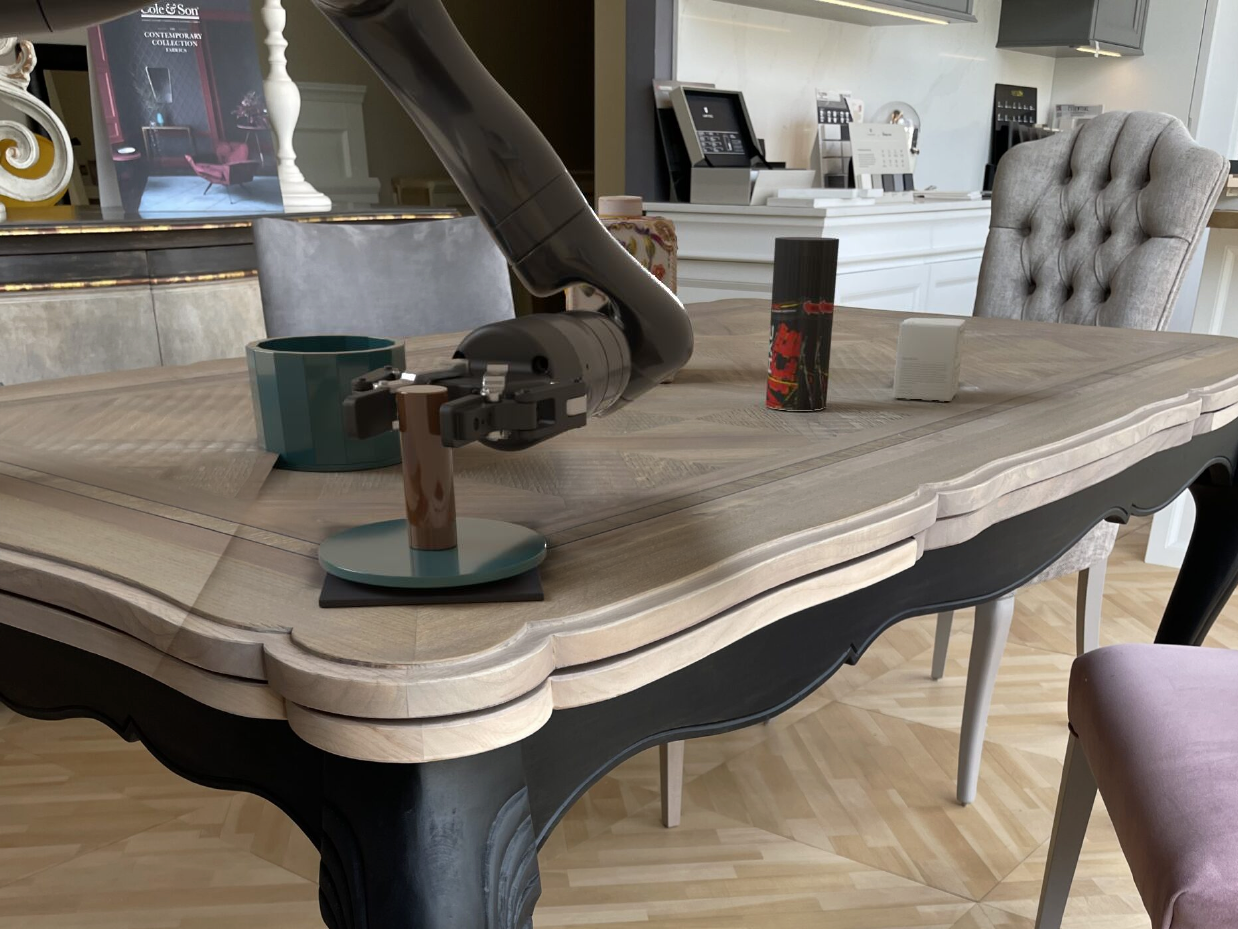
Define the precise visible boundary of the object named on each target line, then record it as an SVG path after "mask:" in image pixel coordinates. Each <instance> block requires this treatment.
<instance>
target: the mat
mask: <svg viewBox="0 0 1238 929" xmlns="http://www.w3.org/2000/svg"><path fill="white" fill-rule="evenodd" d="M538 566H539V565H537V566H536V567H534V568H532V569H530V570H528V571H526V572H523V573H521V574H518V575H515V576H511V577H508V578H504V579H500V580H495V581H490V582H485V583H479V584H471V585H464V586H456V587H445V588H405V587H388V586H379V585H371V584H365V583H359V582H355V581H350V580H347V579H343V578H340V577H338V576H335V575H333V574H331V573H329V572H327V571H326V574H325V577H324V581H323V584H322V587H321V591H320V594H319V598H318V607H319V608H336V607H337V608H339V607H368V606H369V607H371V606H372V607H373V606H399V605H400V606H401V605H403V606H404V605H431V604H432V605H433V604H435V605H436V604H463V603H467V604H468V603H495V602H498V603H499V602H525V601H527V602H529V601H544V600H545V593H544V588H543V584H542V580H541V575H540V570H539V567H538Z"/></svg>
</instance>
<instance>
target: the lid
mask: <svg viewBox="0 0 1238 929" xmlns="http://www.w3.org/2000/svg"><path fill="white" fill-rule="evenodd" d="M396 396H397V408H398V420H399V433H400V445H401V458H402V462H401V468H402V481H403V495H404V505H405V518H399V519H390V520H384V521H377V522H376V521H375V522H370V523H368V524H363V525H357V526H354V527H351V528H348V529H345V530H342V531H339V532H336V533H335V534H332V535H330V536H329V537H327V538H326V539H324V540H322V542H321V543H320V544H319V546H318V548H317V558H318V563H319V565H320V566H321V568H322V570H324V571H326V573H327V572H329V573H331V574H333V575H335V576H338V577H340V578H343V579H347V580H350V581H355V582H359V583H365V584H371V585H379V586H388V587H405V588H445V587H456V586H464V585H471V584H479V583H485V582H490V581H495V580H500V579H504V578H508V577H511V576H515V575H518V574H521V573H523V572H526V571H528V570H530V569H532V568H534V567H536V566H539V565H540V564H541V563H542V562H543V561H544V560H545V559H546V557H547V541H546V539H545V537H544V536H543V535H541V534H540V533H539V532H537V531H536V530H534V529H532V528H528V527H526V526H523V525H519V524H516V523H512V522H508V521H503V520H496V519H491V518H481V517H480V518H479V517H468V516H457V510H456V494H455V478H454V476H455V474H454V462H453V459H454V458H453V448H449V447H444V446H443V445H442V442H441V430H440V407H441V405H442V404H444V403H447V402H449V394H448V389H447V388H446V387H442V386H435V385H413V386H405V387H400V388H398V389H397V390H396Z"/></svg>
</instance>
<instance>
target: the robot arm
mask: <svg viewBox="0 0 1238 929" xmlns="http://www.w3.org/2000/svg"><path fill="white" fill-rule="evenodd" d="M163 1H164V0H0V40H2V39H10V38H11V39H12V38H21V37H33V36H42V35H53V34H63V33H69V32H75V31H80V30H84V29H89V28H93V27H97V26H101V25H104V24H107V23H110V22H113V21H116V20H119V19H122V18H124V17H127V16H130V15H132V14H135V13H137V12H140V11H142V10H144V9H147V8H149V7H151V6H153V5H156V4H159V3H161V2H163ZM310 2H312V4H313V5H314V6H315V7H316V8H317V10H319V11H320V12H321V14H322V15H323V16H325V18H326V19H327V20H328V21H329V22H330V23H331V25H332V26H334V28H335V29H336V30H337V31H338V32H339V33H340V34H341V35H342V36H343V37H344V39H346V41H348V42H349V44H350V45H351V46H352V48H354V50H355V51H357V53H358V54H359V55H360V56H361V58H362V59H364V61H365V62H366V63H367V64H368V65H369V66H370V68H371V69H372V71H374V72H375V74H376V75H377V76H378V77H379V79H380V80H381V81H382V82H383V84H384V85H385V86H386V87H387V89H388V90H389V91H390V92H391V93H392V95H393V96H394V97H395V99H396V100H397V101H398V103H399V104H400V106H402V108H403V109H404V110H405V111H406V113H407V114H408V116H409V117H410V118H411V120H412V121H413V122H414V124H415V126H417V128H418V129H419V131H420V132H421V134H423V136H424V139H425V140H426V141H427V142H428V144H429V146H430V147H431V148H432V150H433V151H434V153H435V154H436V156H437V157H438V159H439V160H440V162H441V164H442V165H443V167H444V168H445V169H446V170H447V173H448V174H449V175H450V177H451V179H452V180H453V181H454V183H455V185H456V186H457V188H458V189H459V191H460V192H461V194H462V195H463V197H464V198H465V200H466V202H467V203H468V205H469V206H470V207H471V209H472V210H473V212H474V214H475V215H476V216H477V219H478V220H479V221H480V223H481V224H482V225H483V228H485V230H486V232H487V233H488V235H489V236H490V237H491V240H492V241H493V243H494V244H495V245H496V246H497V248H498V250H499V251H500V253H501V254H502V256H503V257H504V258H505V260H506V262H507V263H508V265H509V266H511V269H512V270H513V272H514V273H515V275H516V276H517V278H518V279H519V281H520V282H521V283H522V285H523V286H524V288H526V290H528V292H529V293H530V294H531V295H533V296H535V297H538V298H547V297H549V296H553V295H555V294H558V293H560V292H563V291H565V289H567V288H569V287H572V286H575V285H579V284H585V285H589V286H591V287H593V288H595V289H597V290H598V291H600V292H602V293H603V294H605V295H606V296H607V297H608V298H609V299H608V300H606V301H605V302H603V303H602V304H601V305H599V306H598V307H597V308H595V309H594V310H587V309H575V310H568V311H566V310H564V311H560V312H555V313H548V312H543V313H542V312H539V313H531V314H526V315H523V316H518V317H513V318H509V319H504V320H500V321H496V322H491V323H487V324H484V325H481V326H479V327H477V328H475V329H474V330H472V331H471V332H469V333H467V335H465V337H464V338H463V339H462V340H461V341H460V342H459V344H458V345H457V347H456V349H455V351H454V353H453V355H452V357H451V359H443V360H441V361H440V362H439V363H438V365H433V366H425V367H424V366H423V367H416V368H410V369H409V368H407V370H405V371H404V372H403V373H402V376H401V377H400V372H399V371H398V368H392V366H384V368H379V369H376V370H374V371H372V372H370V373H367V374H365V375H363V376H360V377H358V378H356V379H354V380H351V383H352V389H353V390H352V393H353V395H351V396H348V397H346V398H345V401H344V402H343V403H342V412H343V422H344V430H346V433H347V436H348V437H349V438H350V439H358V440H364V439H367V438H369V437H372V436H375V435H378V434H381V433H384V432H391V431H392V430H395V429H399V420H398V416H397V414H398V408H397V396H396V390H397V389H398V388H400V387H405V386H413V385H435V386H442V387H446V388H447V389H448V394H449V402H447V403H444V404H442V405H441V407H440V430H441V442H442V445H443V446H444V447H449V448H452V449H459V448H461V447H463V446H467V445H469V444H471V443H474V442H476V441H477V442H478V443H480V444H482V445H484V446H486V447H487V448H490V449H492V450H495V451H499V452H507V453H515V452H520V451H525V450H528V449H530V448H532V447H534V446H536V445H539V444H541V443H544V442H545V441H548V440H550V439H553V438H555V437H557V436H559V435H562V434H564V433H566V432H569V431H571V430H575V429H581V428H582V427H586V426H587V425H588V423H587V422H588V419H589V418H590V419H594V420H601V419H605V418H607V417H610V416H612V415H614V414H615V413H618V412H619V411H621V410H622V409H624V408H626V407H627V406H629V405H631V403H633V402H635V400H638V399H639V398H640V397H642V396H644V395H645V394H647V393H648V392H649V391H651V390H652V389H654V388H655V387H657V386H658V385H660V384H661V383H664V382H663V381H664V380H666V379H667V378H669V377H671V376H672V375H674V376H675V375H676V374H677V373H678V372H679V371H681V370H682V369H683V368H684V367H685V366H686V365H688V363H689V362H690V360H691V358H692V356H693V353H694V347H695V337H694V328H693V325H692V322H691V319H690V316H689V314H688V312H687V310H686V308H685V307H684V305H683V304H682V302H681V301H680V299H679V298H678V297H676V296H675V295H674V294H673V293H672V292H671V291H670V290H669V289H668V288H667V287H666V286H665V285H664V284H662V283H661V282H660V281H659V280H658V279H657V278H656V277H655V276H653V275H652V274H651V273H650V272H649V271H648V270H647V269H645V268H644V267H643V266H642V265H641V264H640V263H639V262H638V261H637V260H636V259H635V258H634V257H633V256H632V255H631V254H630V253H629V252H628V251H627V250H626V249H625V248H624V247H623V246H622V245H621V244H620V243H619V242H618V241H617V240H616V239H615V238H614V237H613V236H612V235H611V234H610V232H609V231H608V230H607V229H606V228H605V227H604V225H603V224H602V223H601V222H600V220H599V219H598V218H597V216H598V215H596V213H595V212H594V210H593V209H592V207H591V206H590V205H589V202H588V201H587V199H586V198H585V196H584V195H583V193H582V191H581V190H580V188H579V186H578V185H577V183H576V182H575V180H574V178H573V177H572V176H571V174H570V173H569V171H568V169H567V168H566V166H565V165H564V163H563V161H562V159H561V158H560V157H559V155H558V154H557V152H556V151H555V149H554V148H553V146H552V145H551V143H550V142H549V141H548V140H547V138H546V137H545V135H544V134H543V133H542V131H541V130H540V129H539V128H538V127H537V125H536V124H535V123H534V122H533V120H532V119H531V118H530V117H529V116H528V114H526V112H525V111H524V110H523V109H522V108H521V106H519V104H518V103H517V102H516V101H515V100H514V99H513V98H512V97H511V96H510V94H508V92H507V91H506V90H505V89H504V88H503V87H502V86H501V85H500V83H498V81H496V79H495V78H494V77H493V76H492V75H491V74H490V72H489V71H488V70H487V69H486V68H485V66H484V65H483V64H482V63H481V61H480V60H479V59H478V57H477V55H476V54H475V53H474V52H473V50H472V49H471V48H470V46H469V45H468V43H467V42H466V41H465V39H464V38H463V36H462V34H461V33H460V32H459V30H458V28H457V26H456V25H455V24H454V22H453V20H452V18H451V17H450V15H449V13H448V12H447V9H446V8H445V6H444V4H443V2H442V1H441V0H310Z"/></svg>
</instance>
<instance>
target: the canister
mask: <svg viewBox="0 0 1238 929" xmlns="http://www.w3.org/2000/svg"><path fill="white" fill-rule="evenodd" d="M244 347H245V355H246V356H245V357H246V362H247V371H248V378H249V385H250V394H251V402H252V408H253V416H254V423H255V424H254V425H255V430H256V431H255V432H256V438H257V446H258V447H260V448H261V449H262V450H264V451H266V452H270V453H274V454H278V456H277V458H276V460H274V463H273V465H272V467H274V468H278V469H282V470H283V469H284V470H291V471H300V472H301V471H302V472H320V473H321V472H322V473H323V472H325V473H327V472H328V473H329V472H352V471H363V470H365V471H366V470H371V469H379V468H385V467H389V466H394V465H397V464H400V463H401V464H402V458H401V445H400V433H399V429H395V430H392V431H391V432H384V433H381V434H378V435H375V436H372V437H369V438H367V439H364V440H358V439H350V438H349V437H348V436H347V433H346V430H344V422H343V412H342V403H343V402H344V401H345V398H346V397H348V396H351V395H353V393H352V390H353V389H352V383H351V380H354V379H356V378H358V377H360V376H363V375H365V374H367V373H370V372H372V371H374V370H376V369H379V368H384V366H392V368H398V371H399V372H400V377H401V376H402V373H403V372H404V371H405V370H408V363H407V362H408V361H407V349H406V341H405V340H402V339H399V338H396V337H389V336H381V335H373V334H372V335H371V334H349V333H345V334H343V333H341V334H338V333H337V334H336V333H335V334H332V333H331V334H330V333H329V334H328V333H327V334H301V335H300V334H299V335H285V336H278V337H277V336H276V337H269V338H262V339H258V340H253V341H249V342H248V343H247V344H246V345H245V346H244ZM397 416H398V414H397Z"/></svg>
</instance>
